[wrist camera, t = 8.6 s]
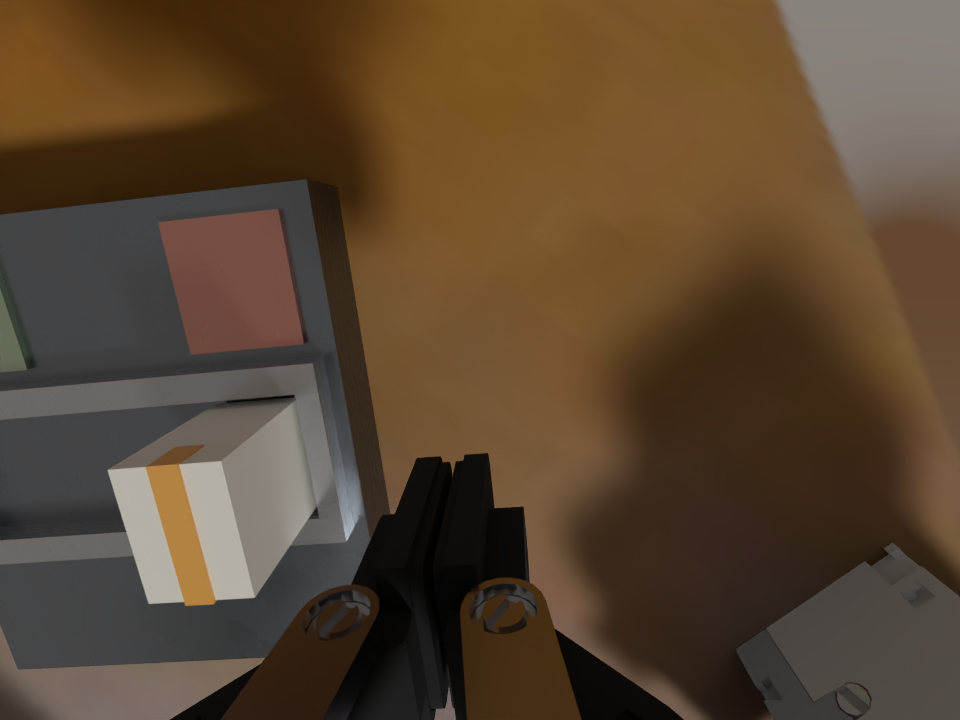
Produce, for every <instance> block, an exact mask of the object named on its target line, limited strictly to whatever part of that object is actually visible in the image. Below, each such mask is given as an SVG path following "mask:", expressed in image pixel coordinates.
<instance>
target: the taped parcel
mask: <svg viewBox="0 0 960 720" xmlns="http://www.w3.org/2000/svg"><path fill="white" fill-rule="evenodd" d="M108 474H109V477H110V480H111V483H112V487H113V490H114V493H115V496H116V500H117V503H118V506H119V509H120V513H121V516H122V519H123V522H124V526H125V529H126V532H127V535H128V539H129V542H130V545H131V548H132V552H133V555H134V558H135V561H136V565H137V568H138V571H139V574H140V578H141V581H142V584H143V587H144V591H145V594H146V597H147V600H148V604H157V603H174V602H184V603H185V606H194V605H211V604H215V602H216V601H217V600H226V599H244V598H255V597H256V595H257V594H258V592H259V591H260V590H261V588H262V587H263V585H264V584H265V582H266V581H267V579H268V578H269V576H270V575H271V573H272V572H273V570H274V569H275V567H276V566H277V564H278V563H279V561H280V560H281V558H282V557H283V555H284V554H285V553H286V551H287V550H288V548H289V547H290V545H291V544H292V542H293V541H294V539H295V538H296V536H297V535H298V533H299V532H300V530H301V529H302V527H303V526H304V524H305V523H306V521H307V520H308V519H309V517H310V516H311V514H312V513H313V511H314V510H315V508H316V507H317V504H316V499H315V494H314V489H313V484H312V479H311V474H310V469H309V464H308V459H307V454H306V449H305V445H304V440H303V435H302V430H301V425H300V420H299V415H298V410H297V405H296V400H295V397H293V398H281V399H269V400H258V401H246V402H234V403H222V404H215V405H214V406H212V407H210V408H209V409H207V410H205V411H204V412H202V413H200V414H199V415H197V416H195V417H194V418H192V419H191V420H189V421H187V422H186V423H184V424H182V425H181V426H179V427H177V428H176V429H174V430H172V431H171V432H169V433H167V434H166V435H164V436H162V437H161V438H159V439H157V440H156V441H154V442H153V443H151V444H149V445H148V446H146V447H144V448H143V449H141V450H139V451H138V452H136V453H134V454H133V455H131V456H129V457H128V458H126V459H124V460H123V461H121V462H120V463H118V464H116V465H115V466H113V467H111V468H110V469H108Z"/></svg>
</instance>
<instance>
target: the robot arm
mask: <svg viewBox="0 0 960 720" xmlns="http://www.w3.org/2000/svg"><path fill="white" fill-rule="evenodd" d="M448 687H450V694H451V700H452V706H453V708H455V715H456V720H683V719H682V718H681V717H680V716H679V715H678V714H677V713H675V712H674V711H673V710H672V709H671V708H670V707H668V706H667V705H665V704H664V703H662V702H661V701H660V700H658V699H657V698H655V697H654V696H652V695H651V694H649V693H648V692H646V691H645V690H643V689H642V688H641V687H639V686H638V685H636V684H635V683H633V682H632V681H630V680H629V679H627V678H626V677H625V676H623V675H622V674H620V673H619V672H617V671H616V670H614V669H613V668H611V667H610V666H608V665H607V664H606V663H604V662H603V661H601V660H600V659H598V658H597V657H595V656H594V655H592V654H591V653H589V652H588V651H587V650H585V649H584V648H582V647H581V646H579V645H578V644H576V643H575V642H573V641H572V640H571V639H569V638H568V637H566V636H565V635H563V634H562V633H560V632H559V631H557V630H556V629H554V626H553V623H552V619H551V616H550V612H549V609H548V606H547V602H546V600H545V598H544V596H543V594H542V592H541V591H540V590H539V589H538V588H536V587H535V586H534V585H533V584H531V583H530V581H529V564H528V550H527V538H526V527H525V516H524V508H523V507H510V508H494V499H493V490H492V480H491V471H490V462H489V456H488V453H484V454H469V455H465V456H464V460H463V461H456V464H455V468H454V472H453V477H452V469H451V464H450V462H443V461H442V458H441V457H425V458H417V459H416V462H415V464H414V467H413V469H412V472H411V474H410V477H409V479H408V482H407V485H406V487H405V490H404V492H403V495H402V497H401V500H400V502H399V505H398V507H397V510H396V512H395V514H389V515H382V516H381V518H380V519H379V522H378V524H377V526H376V528H375V531H374V533H373V535H372V538H371V540H370V542H369V544H368V547H367V549H366V551H365V554H364V556H363V558H362V560H361V563H360V565H359V567H358V570H357V572H356V574H355V576H354V579H353V581H352V583H351V585H342V586H339V587H335V588H331V589H329V590H327V591H325V592H322V593H320V594H318V595H317V596H316V597H314V598H313V599H311V600H310V601H308V602H307V603H306V605H305V606H304V607H303V608H302V609H301V610H300V611H299V612H298V614H297V615H296V617H295V618H294V619H293V621H292V622H291V623H290V625H289V626H288V628H287V629H286V630H285V632H284V633H283V634H282V636H281V637H280V639H279V640H278V641H277V643H276V644H275V645H274V647H273V648H272V650H271V651H270V652H269V654H268V655H267V656H266V658H265V659H264V661H263V662H262V663H261V664H260V665H258V666H256V667H255V668H253V669H252V670H250V671H248V672H247V673H245V674H243V675H242V676H240V677H239V678H237V679H235V680H234V681H232V682H230V683H229V684H227V685H226V686H224V687H222V688H221V689H219V690H217V691H216V692H214V693H213V694H211V695H209V696H208V697H206V698H204V699H203V700H201V701H199V702H198V703H196V704H195V705H193V706H191V707H190V708H188V709H186V710H185V711H183V712H182V713H180V714H178V715H177V716H175V717H173V718H172V719H170V720H434V718H435V712H436V709H443V708H445V706H446V702H447V695H448Z"/></svg>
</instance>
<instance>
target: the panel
mask: <svg viewBox="0 0 960 720" xmlns="http://www.w3.org/2000/svg"><path fill="white" fill-rule="evenodd" d="M293 397H295V400H296V405H297V410H298V415H299V420H300V425H301V430H302V435H303V440H304V445H305V449H306V454H307V459H308V464H309V469H310V474H311V479H312V484H313V489H314V494H315V499H316V504H317V507H316V508H315V510H314V511H313V513H312V514H311V516H310V517H309V519H308V520H307V521H306V523H305V524H304V526H303V527H302V529H301V530H300V532H299V533H298V535H297V536H296V538H295V539H294V541H293V542H292V544H291V545H290V547H289V548H288V550H287V551H286V553H285V554H284V555H283V557H282V558H281V560H280V561H279V563H278V564H277V566H276V567H275V569H274V570H273V572H272V573H271V575H270V576H269V578H268V579H267V581H266V582H265V584H264V585H263V587H262V588H261V590H260V591H259V592H258V594H257V595H256V597H255V598H244V599H226V600H217V601H216V602H215V604H211V605H194V606H185V603H184V602H174V603H157V604H148V600H147V597H146V594H145V591H144V587H143V584H142V581H141V578H140V574H139V571H138V568H137V565H136V561H135V558H134V555H133V552H132V548H131V545H130V542H129V539H128V535H127V532H126V529H125V526H124V522H123V519H122V516H121V513H120V509H119V506H118V503H117V500H116V496H115V493H114V490H113V487H112V483H111V480H110V477H109V474H108V469H110V468H111V467H113V466H115V465H116V464H118V463H120V462H121V461H123V460H124V459H126V458H128V457H129V456H131V455H133V454H134V453H136V452H138V451H139V450H141V449H143V448H144V447H146V446H148V445H149V444H151V443H153V442H154V441H156V440H157V439H159V438H161V437H162V436H164V435H166V434H167V433H169V432H171V431H172V430H174V429H176V428H177V427H179V426H181V425H182V424H184V423H186V422H187V421H189V420H191V419H192V418H194V417H195V416H197V415H199V414H200V413H202V412H204V411H205V410H207V409H209V408H210V407H212V406H214V405H215V404H222V403H234V402H246V401H258V400H269V399H281V398H293ZM389 514H390V510H389V504H388V498H387V492H386V485H385V479H384V473H383V467H382V461H381V455H380V449H379V442H378V436H377V430H376V424H375V418H374V412H373V406H372V399H371V393H370V387H369V381H368V375H367V369H366V363H365V356H364V350H363V344H362V338H361V332H360V326H359V320H358V314H357V307H356V301H355V295H354V289H353V283H352V277H351V271H350V264H349V258H348V252H347V246H346V240H345V234H344V228H343V221H342V215H341V209H340V203H339V197H338V191H337V187H335V186H331V185H327V184H323V183H319V182H315V181H311V180H308V179H304V180H295V181H287V182H278V183H269V184H261V185H252V186H244V187H235V188H226V189H218V190H209V191H200V192H192V193H183V194H174V195H166V196H157V197H148V198H140V199H131V200H123V201H114V202H105V203H97V204H88V205H79V206H71V207H62V208H53V209H45V210H36V211H27V212H19V213H10V214H2V215H0V625H1V628H2V630H3V633H4V635H5V638H6V640H7V643H8V645H9V648H10V650H11V653H12V655H13V658H14V660H15V663H16V665H17V668H18V670H19V669H39V668H59V667H80V666H100V665H121V664H141V663H161V662H182V661H202V660H223V659H243V658H263V657H266V656H267V655H268V654H269V652H270V651H271V650H272V648H273V647H274V645H275V644H276V643H277V641H278V640H279V639H280V637H281V636H282V634H283V633H284V632H285V630H286V629H287V628H288V626H289V625H290V623H291V622H292V621H293V619H294V618H295V617H296V615H297V614H298V612H299V611H300V610H301V609H302V608H303V607H304V606H305V605H306V603H307V602H308V601H310V600H311V599H313V598H314V597H316V596H317V595H318V594H320V593H322V592H325V591H327V590H329V589H331V588H335V587H339V586H342V585H351V583H352V581H353V579H354V576H355V574H356V572H357V570H358V567H359V565H360V563H361V560H362V558H363V556H364V554H365V551H366V549H367V547H368V544H369V542H370V540H371V538H372V535H373V533H374V531H375V528H376V526H377V524H378V522H379V519H380V518H381V516H382V515H389Z"/></svg>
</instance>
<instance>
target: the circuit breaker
mask: <svg viewBox="0 0 960 720" xmlns="http://www.w3.org/2000/svg"><path fill="white" fill-rule="evenodd" d="M883 549H884V550H885V551H886V552H887V553H888V555H887V556H885V557H884V558H882V559H881V560H880V561H878V562H877V563H875V564H874V565H872V566H870V565H869V564H868V563H867V562H866V561H864V562H863V563H861V564H860V565H858V566H857V567H856V568H854V569H853V570H851V571H850V572H848V573H847V574H845V575H844V576H842V577H841V578H839V579H838V580H836V581H835V582H833V583H832V584H831V585H829V586H828V587H826V588H825V589H823V590H822V591H820V592H819V593H817V594H816V595H814V596H813V597H811V598H810V599H808V600H807V601H805V602H804V603H803V604H801V605H800V606H798V607H797V608H795V609H794V610H792V611H791V612H789V613H788V614H786V615H785V616H783V617H782V618H780V619H779V620H778V621H776V622H775V623H773V624H772V625H770V626H769V627H767V628H766V629H764V630H763V631H761V632H760V633H758V634H757V635H756V636H754V637H753V638H751V639H750V640H748V641H747V642H745V643H744V644H742V645H741V646H740V647H738V648H737V651H736V652H737V654H738V655H739V657H740V659H741V661H742V663H743V664H744V666H745V668H746V670H747V672H748V674H749V675H750V677H751V679H752V681H753V683H754V684H755V686H756V687H757V688H758V689H759V690H760V691H761V692H762V694H763V696H764V697H765V699H766V700H764V703H765V704H766V706H767V708H768V710H769V712H770V713H771V715H772V717H773V719H774V720H960V596H958V595H957V594H956V593H955V592H953V591H952V590H951V589H950V588H948V587H947V586H946V585H945V584H943V583H942V582H941V581H940V580H938V579H937V578H936V577H935V576H933V575H932V574H931V573H930V572H928V571H927V570H926V569H925V568H924V567H922V566H921V567H920V566H919V565H918V564H916V563H915V562H914V561H913V560H911V559H910V558H909V557H908V556H907V555H905V554H904V553H903V552H902V551H901V549H900V548H899V547H897V546H896V545H895V544H894V543H891V544H889V545H888V546H886V547H885V548H883Z"/></svg>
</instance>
